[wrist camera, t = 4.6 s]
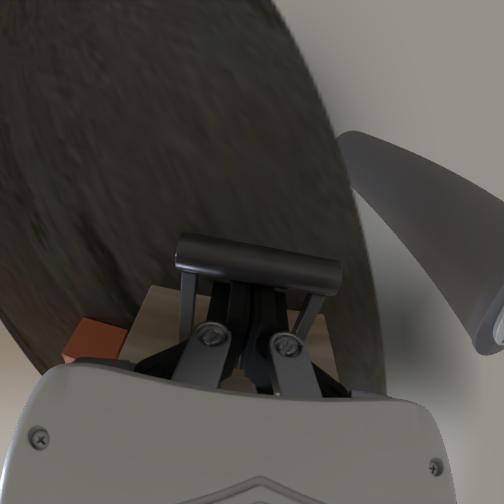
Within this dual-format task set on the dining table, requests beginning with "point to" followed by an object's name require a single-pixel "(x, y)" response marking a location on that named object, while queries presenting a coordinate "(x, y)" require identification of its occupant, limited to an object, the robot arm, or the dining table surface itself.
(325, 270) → the drawer
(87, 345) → the block
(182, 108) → the dining table surface
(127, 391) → the robot arm
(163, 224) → the dining table surface
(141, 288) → the dining table surface
